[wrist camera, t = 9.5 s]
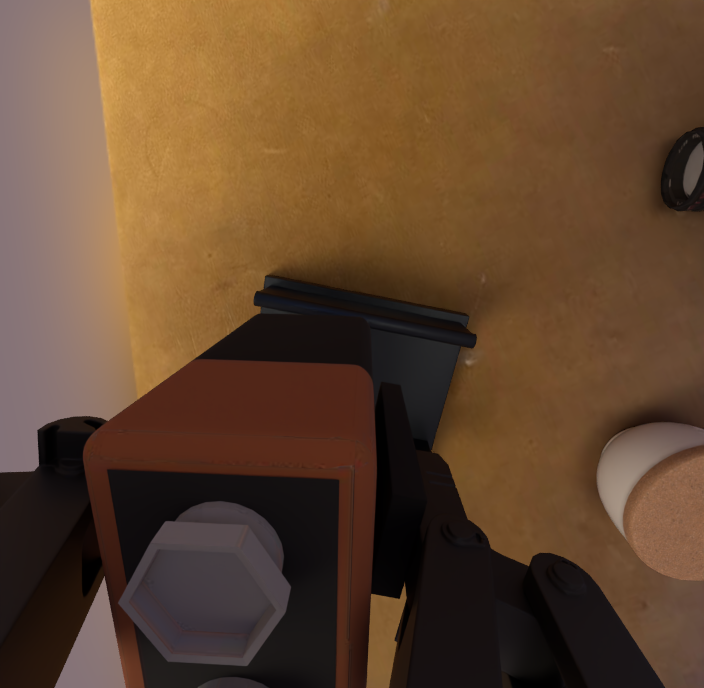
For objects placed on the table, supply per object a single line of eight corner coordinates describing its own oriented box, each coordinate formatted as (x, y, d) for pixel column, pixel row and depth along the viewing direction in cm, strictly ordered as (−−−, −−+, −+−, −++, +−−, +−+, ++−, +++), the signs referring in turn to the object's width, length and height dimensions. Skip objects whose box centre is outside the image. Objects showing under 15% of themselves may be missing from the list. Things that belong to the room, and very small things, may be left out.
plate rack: (237, 512, 37) (214, 561, 31) (268, 274, 30) (247, 282, 25) (400, 542, 37) (407, 596, 31) (465, 313, 31) (487, 330, 25)
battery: (371, 313, 14) (383, 492, 4) (364, 476, 16) (362, 858, 6) (252, 310, 14) (-2, 475, 4) (259, 471, 16) (94, 838, 6)
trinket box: (599, 390, 32) (691, 450, 23) (721, 414, 32) (860, 483, 23) (555, 496, 35) (622, 587, 26) (668, 518, 35) (773, 615, 26)
